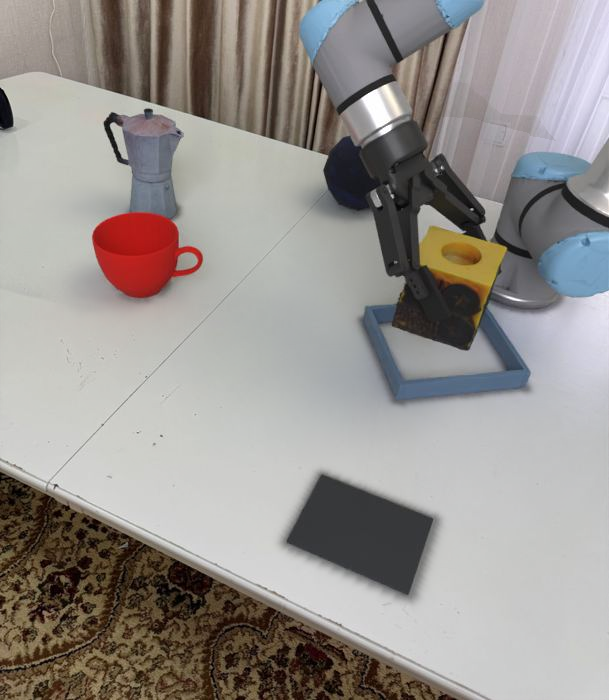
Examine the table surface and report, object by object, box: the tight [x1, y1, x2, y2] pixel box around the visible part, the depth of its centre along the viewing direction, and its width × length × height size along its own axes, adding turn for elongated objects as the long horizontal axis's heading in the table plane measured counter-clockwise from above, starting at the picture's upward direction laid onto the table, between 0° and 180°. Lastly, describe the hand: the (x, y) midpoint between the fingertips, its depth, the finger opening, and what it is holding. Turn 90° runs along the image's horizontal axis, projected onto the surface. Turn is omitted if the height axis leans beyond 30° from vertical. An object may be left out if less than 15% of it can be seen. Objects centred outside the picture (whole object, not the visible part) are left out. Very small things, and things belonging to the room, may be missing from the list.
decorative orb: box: [322, 135, 381, 211], centre depth 123 cm, size 14×15×15 cm
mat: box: [286, 474, 434, 596], centre depth 70 cm, size 14×10×1 cm
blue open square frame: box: [362, 303, 532, 401], centre depth 93 cm, size 20×18×3 cm
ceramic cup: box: [91, 212, 204, 299], centre depth 98 cm, size 13×17×10 cm
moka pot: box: [102, 107, 185, 220], centre depth 113 cm, size 10×15×20 cm, turn 78°
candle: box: [391, 224, 507, 352], centre depth 77 cm, size 10×10×10 cm
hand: (467, 296), depth 76 cm, fingers closed on candle, 12 cm apart
